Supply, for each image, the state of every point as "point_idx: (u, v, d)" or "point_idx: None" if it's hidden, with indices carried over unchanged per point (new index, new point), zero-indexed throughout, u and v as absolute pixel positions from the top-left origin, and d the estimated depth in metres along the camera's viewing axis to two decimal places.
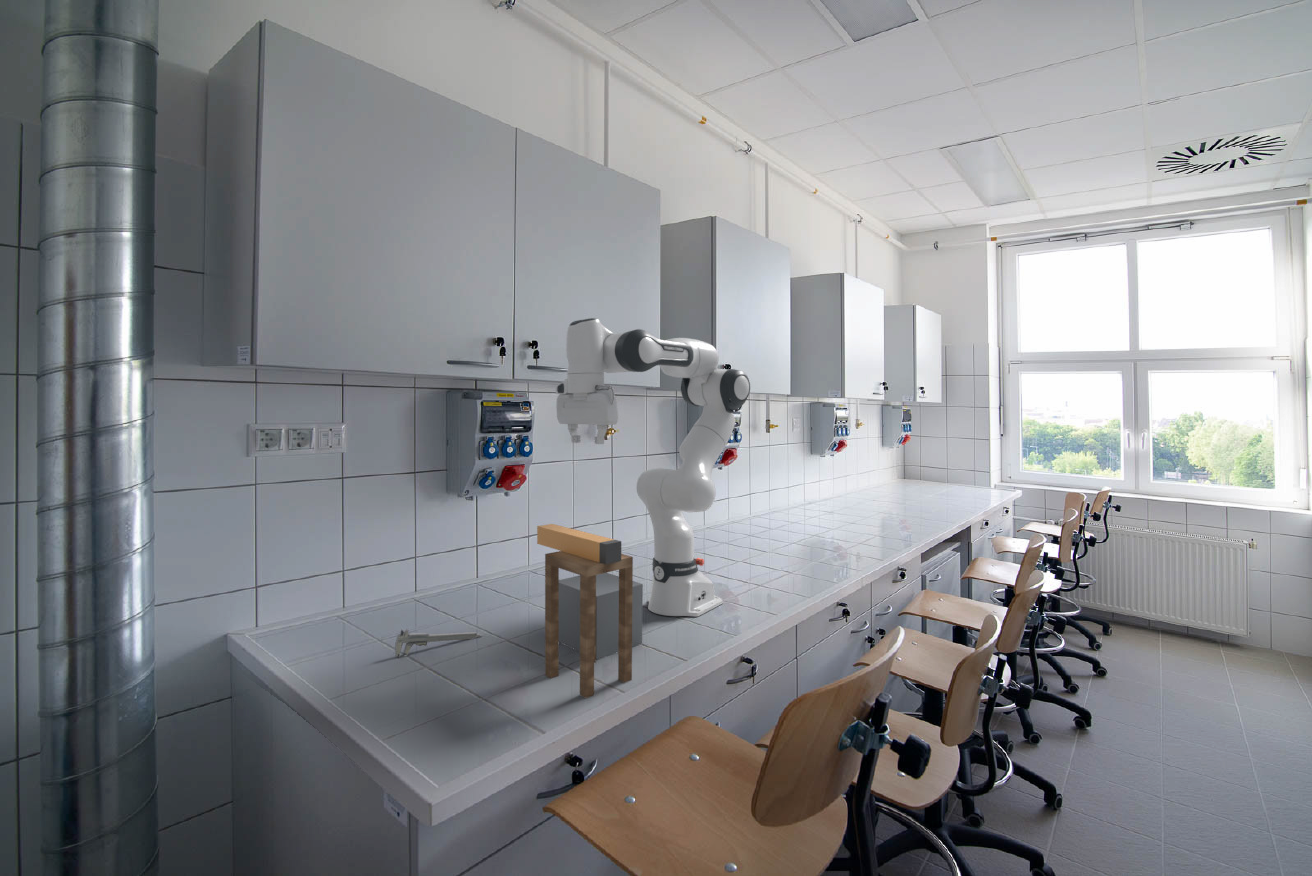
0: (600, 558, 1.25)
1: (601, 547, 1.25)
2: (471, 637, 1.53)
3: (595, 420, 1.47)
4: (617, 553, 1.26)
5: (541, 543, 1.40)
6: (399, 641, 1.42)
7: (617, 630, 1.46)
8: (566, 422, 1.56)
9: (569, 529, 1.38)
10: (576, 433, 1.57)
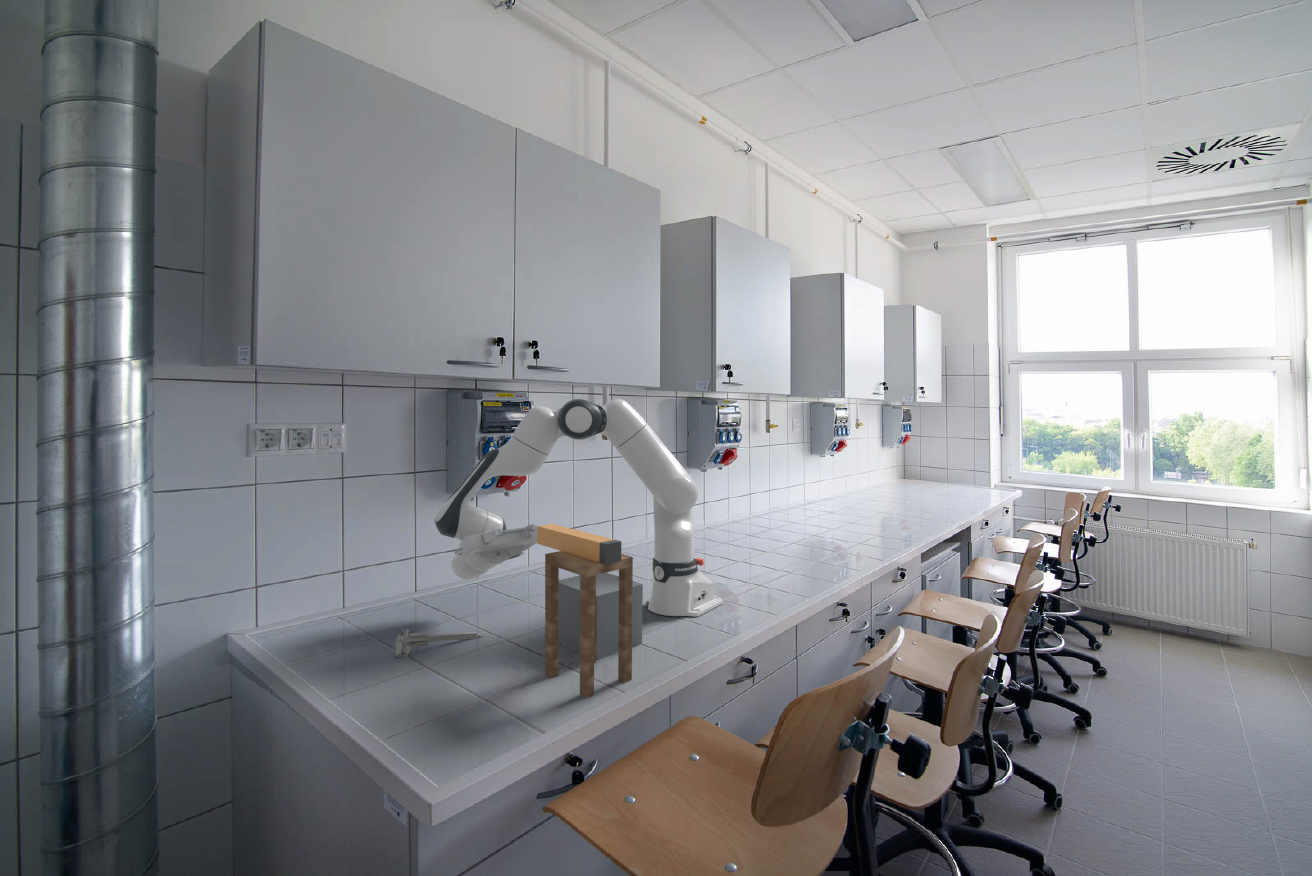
0: (600, 558, 1.25)
1: (601, 547, 1.25)
2: (471, 637, 1.53)
3: (485, 548, 1.50)
4: (617, 553, 1.26)
5: (541, 543, 1.40)
6: (399, 641, 1.42)
7: (617, 630, 1.46)
8: (529, 540, 1.58)
9: (569, 529, 1.38)
10: None
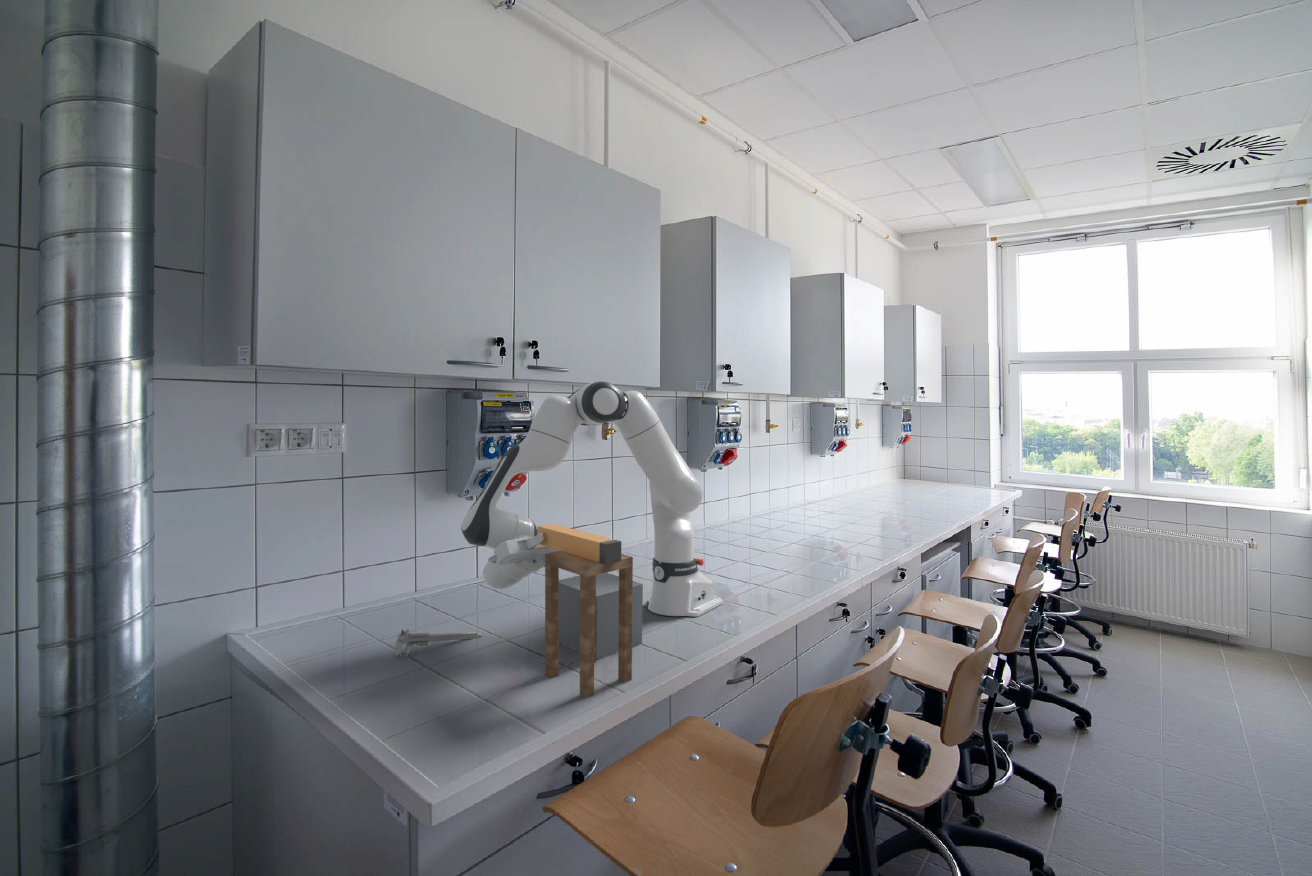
0: (600, 558, 1.25)
1: (601, 547, 1.25)
2: (471, 637, 1.54)
3: (521, 554, 1.39)
4: (617, 553, 1.26)
5: (541, 543, 1.40)
6: (400, 641, 1.42)
7: (617, 630, 1.46)
8: None
9: (569, 529, 1.38)
10: None
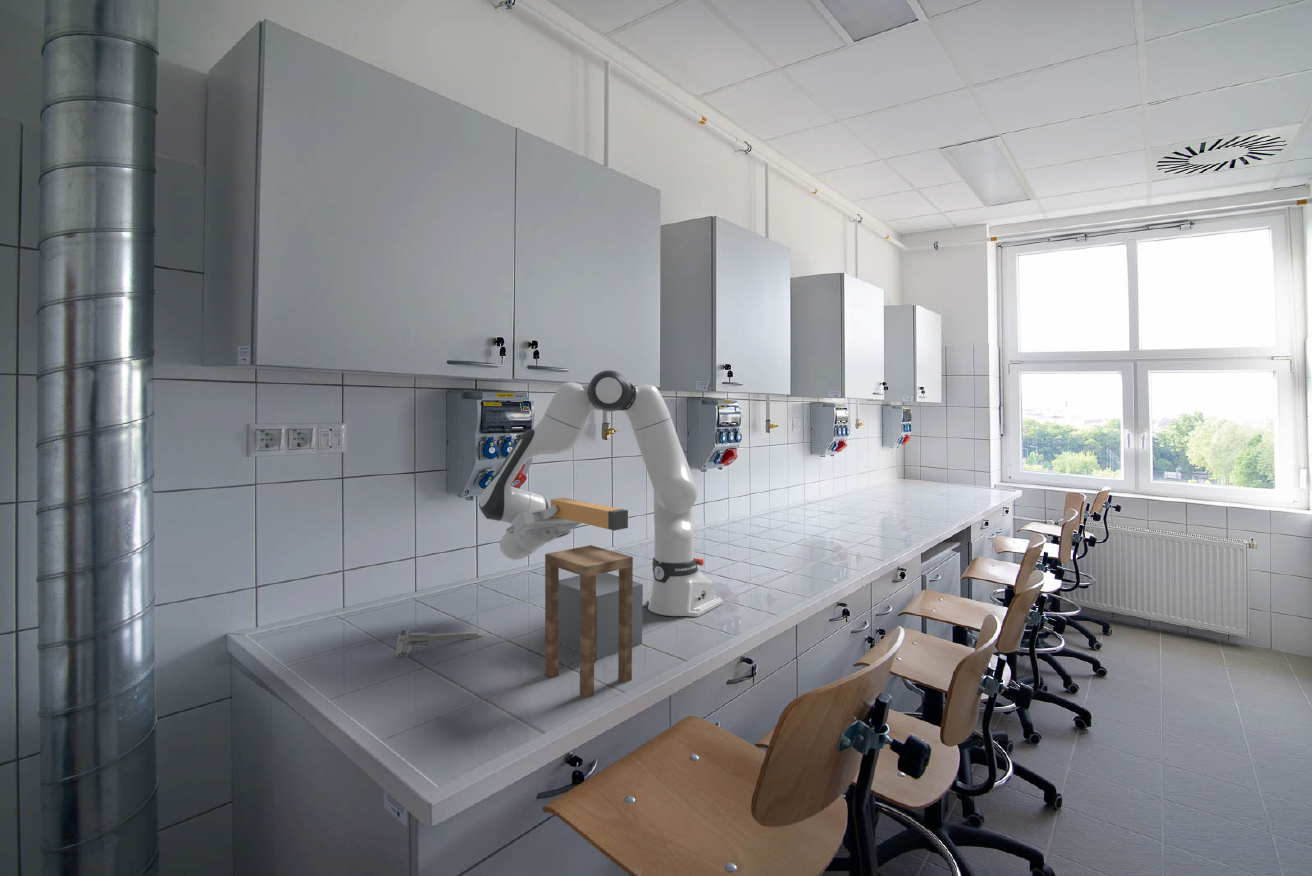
0: (609, 525, 1.39)
1: (610, 515, 1.39)
2: (472, 637, 1.54)
3: (536, 525, 1.53)
4: (624, 520, 1.40)
5: (554, 515, 1.54)
6: (400, 641, 1.42)
7: (617, 630, 1.46)
8: None
9: (580, 501, 1.52)
10: None
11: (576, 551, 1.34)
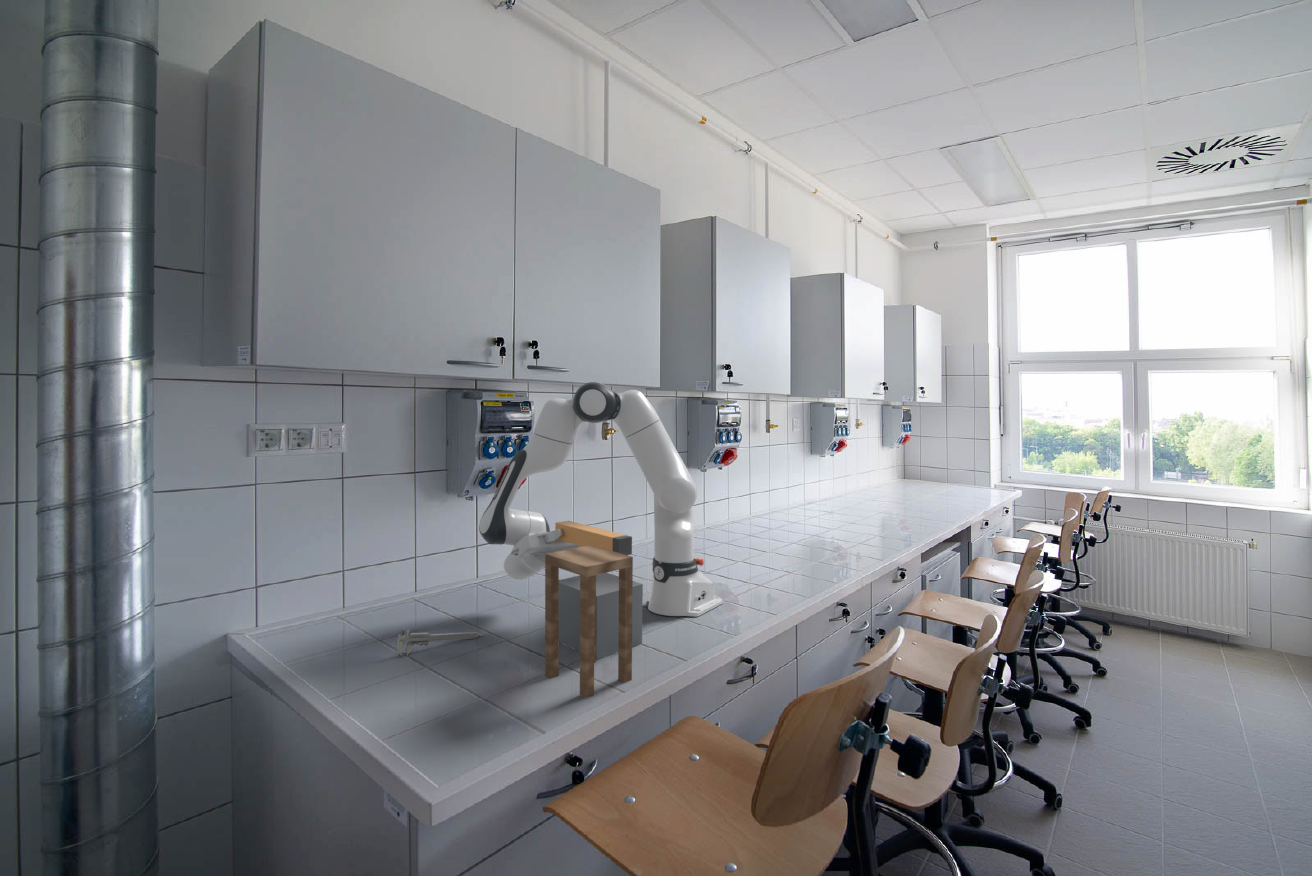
0: (613, 551, 1.41)
1: (614, 542, 1.41)
2: (472, 637, 1.54)
3: (541, 548, 1.54)
4: (628, 547, 1.42)
5: (559, 538, 1.56)
6: (400, 641, 1.42)
7: (617, 630, 1.46)
8: None
9: (584, 525, 1.53)
10: None
11: (576, 551, 1.34)
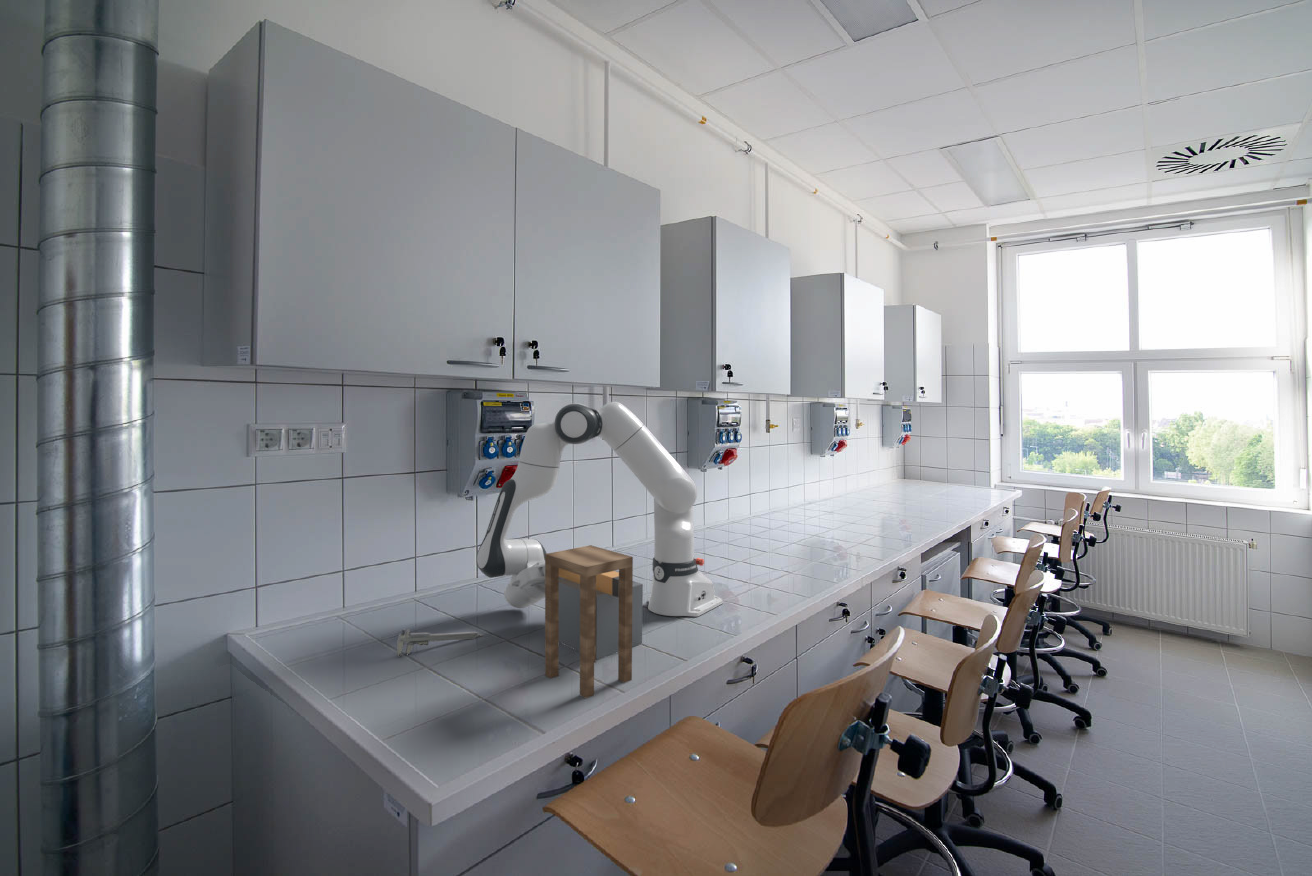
0: (613, 591, 1.41)
1: (614, 582, 1.41)
2: (472, 637, 1.54)
3: (541, 579, 1.55)
4: None
5: (559, 575, 1.56)
6: (400, 641, 1.42)
7: (617, 630, 1.46)
8: None
9: None
10: None
11: (576, 551, 1.34)
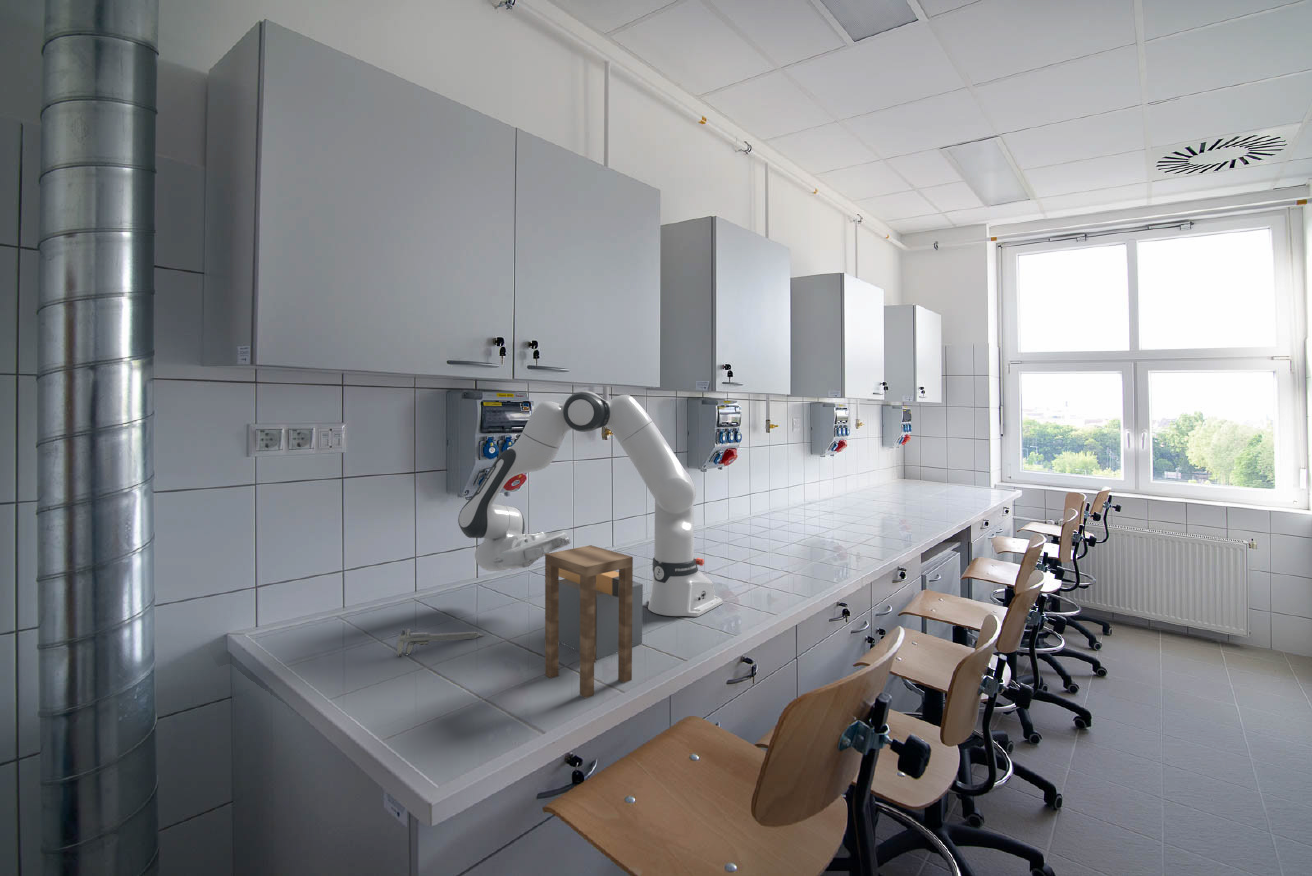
0: (613, 591, 1.41)
1: (614, 582, 1.41)
2: (472, 637, 1.54)
3: (525, 561, 1.60)
4: None
5: (559, 575, 1.56)
6: (400, 641, 1.42)
7: (617, 630, 1.46)
8: None
9: None
10: None
11: (576, 551, 1.34)
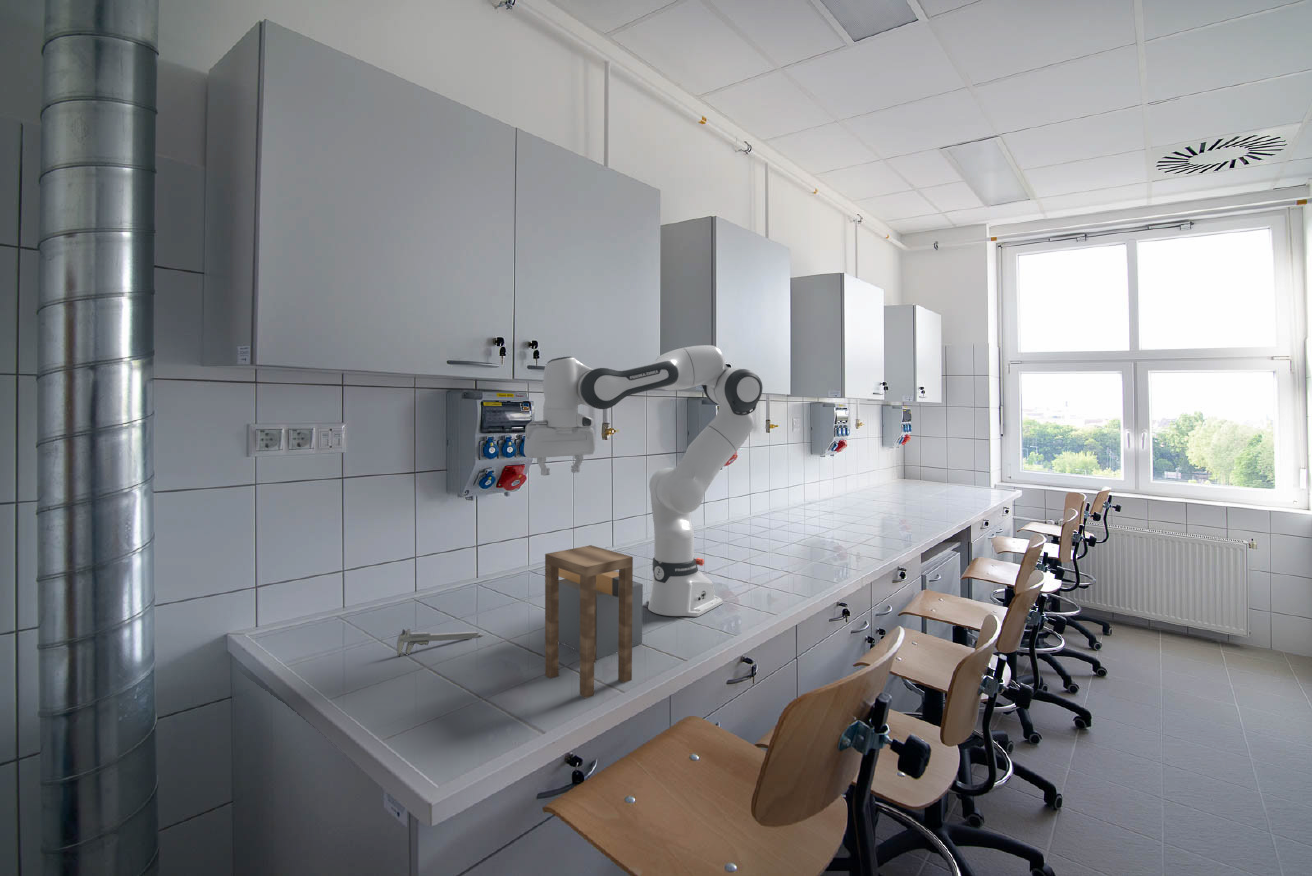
0: (613, 591, 1.41)
1: (614, 582, 1.41)
2: (472, 636, 1.54)
3: None
4: None
5: (559, 575, 1.56)
6: (401, 640, 1.42)
7: (617, 630, 1.46)
8: None
9: None
10: (577, 464, 1.66)
11: (576, 551, 1.34)
